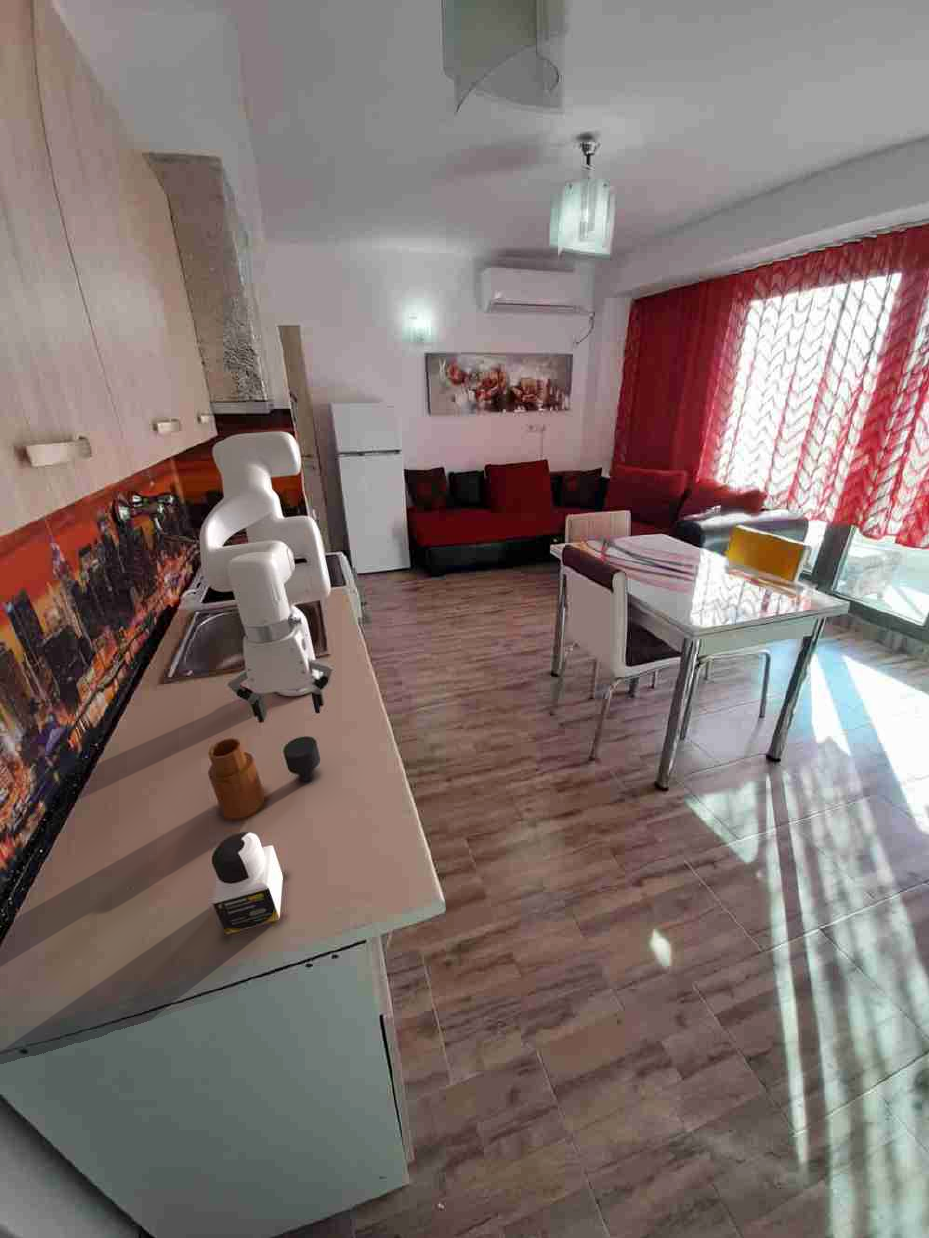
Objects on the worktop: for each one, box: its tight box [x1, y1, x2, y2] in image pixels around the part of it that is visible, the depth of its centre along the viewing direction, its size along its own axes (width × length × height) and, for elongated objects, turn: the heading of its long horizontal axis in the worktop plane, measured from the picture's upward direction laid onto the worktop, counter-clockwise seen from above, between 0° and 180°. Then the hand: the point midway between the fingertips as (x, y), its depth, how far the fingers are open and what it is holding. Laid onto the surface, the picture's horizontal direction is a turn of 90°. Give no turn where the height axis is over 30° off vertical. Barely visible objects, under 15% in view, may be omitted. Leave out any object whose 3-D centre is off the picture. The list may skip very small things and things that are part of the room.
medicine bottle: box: [211, 831, 284, 935], centre depth 66 cm, size 7×7×12 cm
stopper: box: [282, 735, 321, 783], centre depth 90 cm, size 6×6×8 cm
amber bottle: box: [207, 737, 266, 820], centre depth 84 cm, size 7×7×13 cm
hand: (291, 713), depth 85 cm, fingers open, 9 cm apart
